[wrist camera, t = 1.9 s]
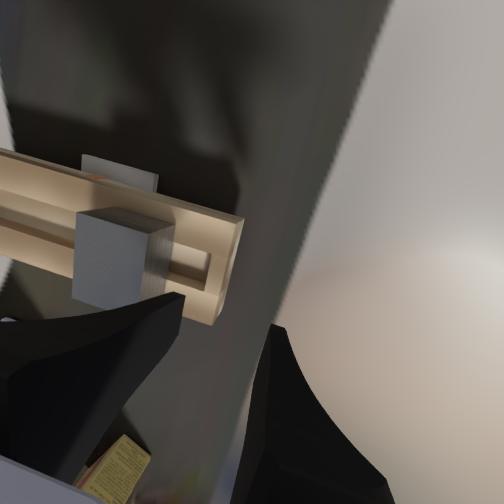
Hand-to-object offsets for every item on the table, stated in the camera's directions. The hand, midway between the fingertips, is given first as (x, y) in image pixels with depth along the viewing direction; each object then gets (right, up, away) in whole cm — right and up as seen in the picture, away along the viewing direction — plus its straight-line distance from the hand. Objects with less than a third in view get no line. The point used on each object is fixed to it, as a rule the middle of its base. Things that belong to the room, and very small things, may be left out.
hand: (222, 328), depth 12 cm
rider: (-6, +3, +6) cm, 9 cm away
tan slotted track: (-10, +6, +10) cm, 15 cm away
